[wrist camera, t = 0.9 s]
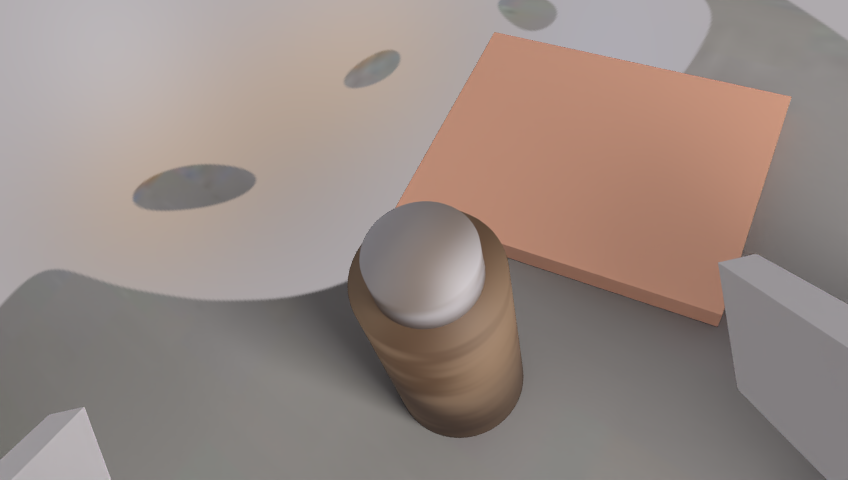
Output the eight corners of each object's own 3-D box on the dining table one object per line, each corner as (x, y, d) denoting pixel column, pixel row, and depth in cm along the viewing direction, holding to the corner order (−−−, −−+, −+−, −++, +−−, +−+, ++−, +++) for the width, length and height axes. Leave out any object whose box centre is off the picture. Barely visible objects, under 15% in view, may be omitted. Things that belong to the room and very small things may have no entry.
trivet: (399, 221, 48) (394, 209, 47) (496, 47, 55) (494, 32, 54) (717, 326, 41) (722, 315, 40) (785, 112, 48) (791, 96, 47)
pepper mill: (378, 408, 42) (305, 296, 30) (431, 303, 45) (383, 164, 33) (493, 458, 40) (462, 357, 28) (541, 344, 42) (532, 208, 31)
